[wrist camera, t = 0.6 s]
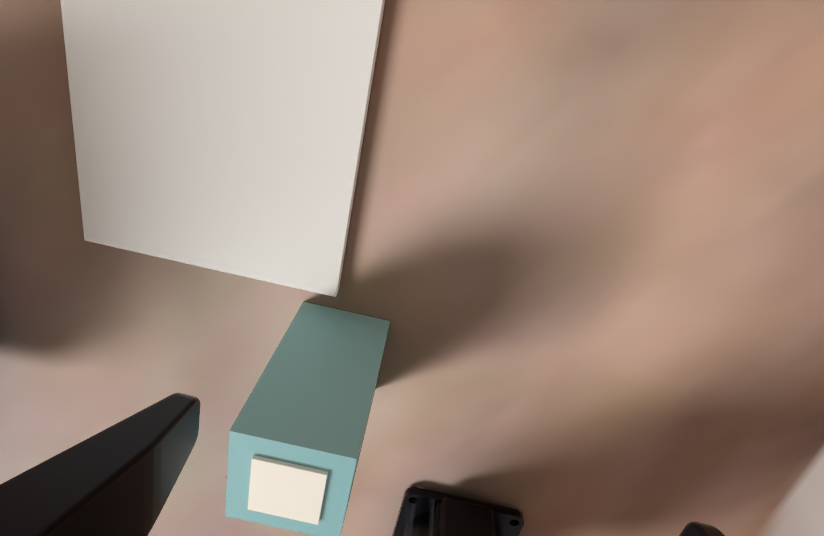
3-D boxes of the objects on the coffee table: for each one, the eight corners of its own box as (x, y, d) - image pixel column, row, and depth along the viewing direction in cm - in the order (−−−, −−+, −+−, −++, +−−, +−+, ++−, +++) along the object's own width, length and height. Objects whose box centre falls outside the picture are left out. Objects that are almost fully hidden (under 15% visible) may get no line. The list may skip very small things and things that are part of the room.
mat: (338, 290, 22) (335, 297, 22) (93, 235, 22) (84, 240, 21) (411, -168, 15) (409, -175, 14) (49, -253, 15) (34, -263, 14)
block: (375, 388, 24) (337, 545, 17) (294, 371, 24) (223, 519, 17) (390, 321, 23) (355, 462, 15) (303, 301, 23) (227, 434, 15)
